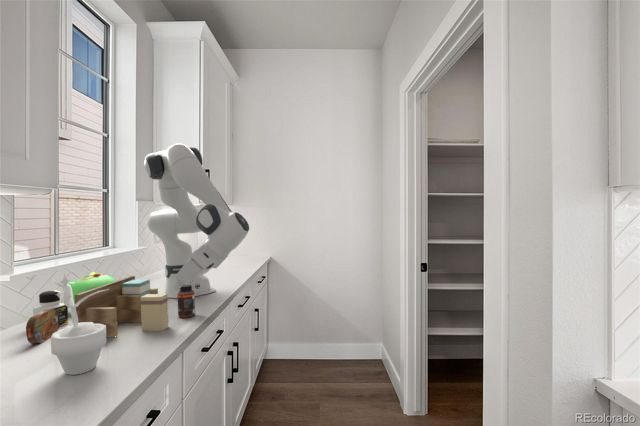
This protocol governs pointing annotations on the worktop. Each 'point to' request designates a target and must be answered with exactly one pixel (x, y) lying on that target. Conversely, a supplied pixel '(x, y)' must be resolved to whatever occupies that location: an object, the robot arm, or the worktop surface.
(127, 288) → the teal tall rectangular block
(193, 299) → the supplement bottle
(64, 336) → the potted plant
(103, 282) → the toy bird
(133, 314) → the pantry shelf
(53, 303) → the medicine bottle
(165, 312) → the book box
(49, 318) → the tin
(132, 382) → the worktop surface
